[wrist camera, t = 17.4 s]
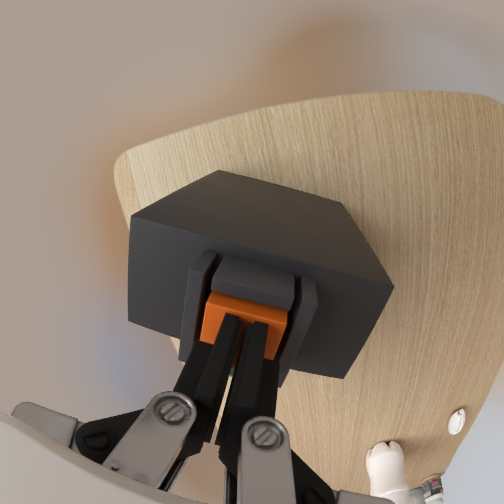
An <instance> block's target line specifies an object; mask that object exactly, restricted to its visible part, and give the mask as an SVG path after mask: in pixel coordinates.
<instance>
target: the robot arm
mask: <svg viewBox="0 0 504 504" xmlns="http://www.w3.org/2000/svg"><path fill="white" fill-rule="evenodd" d="M243 323H244V322H243V321H240V320H239V316H236V315H232V314H229V313H225V315H224V318H223V321H222V323H221V326H220V329H219V331H218V334H217V337H216V339H215V342H214V344H210V343H207V342H203V341H200V340H196V342H195V344H194V346H193V348H192V350H191V352H190V354H189V357H188V359H187V361H186V363H185V365H184V368H183V370H182V372H181V374H180V376H179V379H178V381H177V383H176V385H175V388H174V390H173V392H172V391H167V392H162V393H160V394H157V395H156V396H155V397H154V398H153V399H152V400H151V401H150V402H149V404H148V405H147V406H146V408H145V409H141V410H137V411H133V412H130V413H126V414H122V415H117V416H113V417H109V418H104V419H100V420H95V421H90V422H88V423H83V422H80V421H78V419H77V418H74V417H71V416H68V415H64V414H61V413H59V412H56V411H53V410H50V409H48V408H45V407H42V406H40V405H37V404H34V403H31V402H22V403H20V404H18V405H17V406H16V407H15V409H14V410H13V412H12V415H11V416H10V415H7V414H5V413H1V412H0V504H206V503H201V502H198V501H194V500H191V499H187V498H184V497H181V496H177V495H174V494H171V493H169V492H170V490H171V489H172V487H173V485H174V483H175V482H176V480H177V478H178V476H179V474H180V473H181V471H182V469H183V468H184V466H185V464H186V462H187V460H188V458H189V456H192V455H194V454H197V453H200V451H201V448H202V446H203V443H204V442H208V443H210V440H211V437H212V433H213V430H214V427H215V423H216V420H217V417H218V413H219V410H220V406H221V403H222V399H223V396H224V392H225V389H226V385H227V381H228V378H229V374H230V371H231V367H232V363H233V360H234V356H235V352H236V349H237V345H238V342H239V338H240V334H241V331H242V327H243ZM268 327H269V324H266V323H262V322H258V321H255V322H254V324H251V323H248V326H247V329H246V333H245V336H244V339H243V343H242V346H241V350H240V353H239V357H238V360H237V363H236V367H235V370H234V374H233V377H232V381H231V385H230V389H229V392H228V396H227V400H226V404H225V407H224V411H223V415H222V418H221V422H220V426H219V430H218V433H217V437H216V441H215V445H219V446H220V448H219V452H218V453H219V459H220V460H221V461H222V463H223V464H224V465H225V472H224V495H223V504H395V503H394V502H393V501H392V500H390V499H387V498H382V497H376V496H370V495H364V494H359V493H354V492H350V491H345V490H339V491H336V490H332V489H331V488H330V486H329V485H328V484H326V483H325V482H324V481H323V480H322V479H321V478H320V477H319V476H318V475H317V474H316V473H315V472H314V471H313V470H312V469H311V468H310V467H309V466H308V465H307V464H306V463H305V462H304V461H303V460H302V459H301V458H300V457H299V456H298V455H297V454H296V453H295V452H294V451H293V450H292V449H291V448H290V440H289V434H288V431H287V429H286V428H285V426H284V425H283V424H282V423H281V422H280V421H278V420H276V419H275V411H276V401H277V391H278V381H279V370H280V362H278V361H274V360H270V359H266V358H264V353H265V347H266V340H267V334H268Z"/></svg>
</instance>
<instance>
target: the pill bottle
mask: <svg viewBox="0 0 504 504" xmlns="http://www.w3.org/2000/svg"><path fill="white" fill-rule="evenodd" d="M422 489H423V496H424V501H425V502H426V503H427V504H442V503H443V499H442V496H443V488H442V483H441V478H440V475H438V474H436V475H432V476H429V477H427V478H425V479H424V480H423V481H422Z"/></svg>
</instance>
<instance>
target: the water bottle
mask: <svg viewBox="0 0 504 504" xmlns="http://www.w3.org/2000/svg"><path fill="white" fill-rule="evenodd" d="M366 468H367V471H368V474H369V477H370V482H371V492H370V496H376V497H382V498H387V499H390V500H392V501H393V502H394V503H395V504H411V503H410V496H409V491H410V490H409V486H408V484H407V482H406V479H405V475H404V455H403V451H402V449H401V447H400V445H399V444H398V443H397V442H395V441H391V442H390V443H389V445H388V446H387V444H386V443H385V442H380V443H378V444H376V445H375V446H374V448H373V449H370V450H369V451H368V453H367V457H366Z"/></svg>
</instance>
